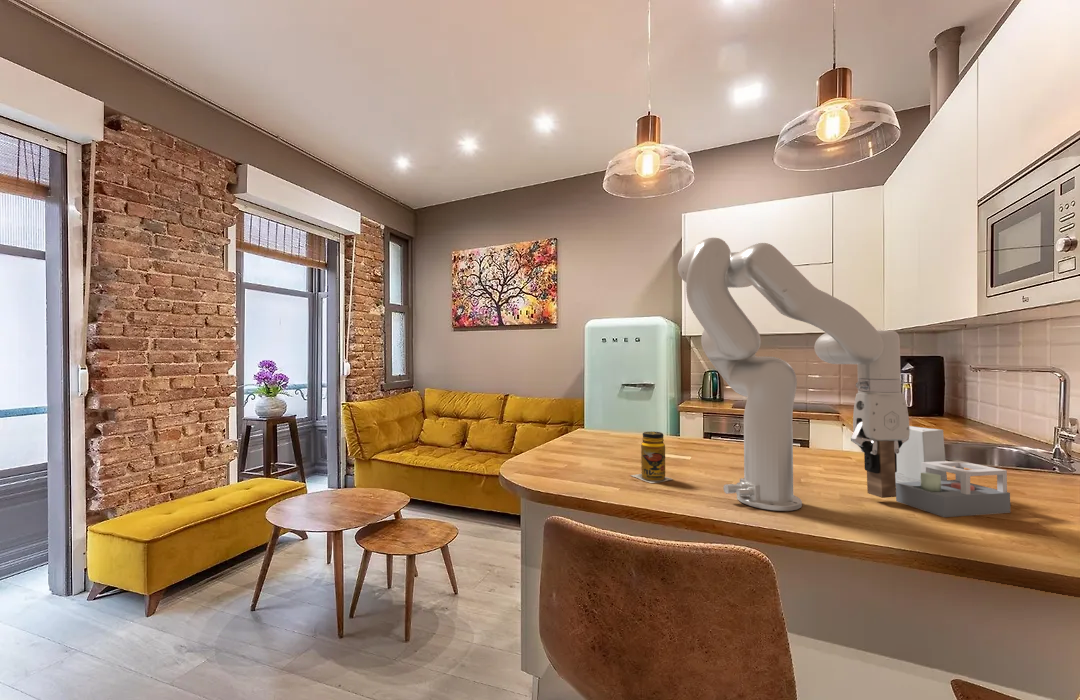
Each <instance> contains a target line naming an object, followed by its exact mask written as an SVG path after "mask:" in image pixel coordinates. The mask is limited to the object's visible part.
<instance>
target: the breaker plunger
mask: <svg viewBox="0 0 1080 700" xmlns="http://www.w3.org/2000/svg"><path fill="white" fill-rule="evenodd" d="M951 487H953V488H956V489H960V490H961V483H951ZM970 491H974V486H973V485H970Z"/></svg>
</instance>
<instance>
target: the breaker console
mask: <svg viewBox="0 0 1080 700" xmlns="http://www.w3.org/2000/svg"><path fill="white" fill-rule="evenodd" d="M930 468H932V469H937V470H941V471H945V472H946V473H951V474H954V475H955V479H947V480H941V492H930V491H926V490H923V489H921V482H903V483H896V497H895V502H897V503H899V504H900V503H901V504H904V505H906V506H909V507H912V508H916V509H918V510H922V511H925V512H927V513H930V514H934V515H937V516H940V517H943V518H949V517H950V518H951V517H952V518H953V517H967V516H981V515H994V514H995V515H997V514H1008V513H1009V514H1010V513H1011V492H1009V491H1008V483H1007V482H1008V477H1007V476H1008V475H1007V472H1008V471H1007V469H1002V468H996V467H992V466H987V465H983V464H978V463H972V462H968V461H964V460H945V461H937V462H921V473H922V472H926V473H930ZM976 476H977V477H984V476H996V479H997V481H996V484H997V485H996V487H997V489H996V488H992V487H988V486H985V485H980V484H975V483H972V482H971V477H976ZM951 483H961V490H960V489H956V488H953V487H951ZM970 485H973V486H974V491H970Z"/></svg>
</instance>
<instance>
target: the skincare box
mask: <svg viewBox="0 0 1080 700" xmlns="http://www.w3.org/2000/svg"><path fill="white" fill-rule="evenodd" d="M909 428H910V435H909V439H908V440H907V441H906V442H905V443H903V444H902V446H901V447H900V448H899V453H898V454H896V455H897V472H895V478H896V483H903V482H921V462H937V461H946V449H945V448H946V447H945V438H944V437H945V436H944V435H945V434H944V429H940V428H938V429H937V428H930V427H929V428H927V427H919V426H912V425H909ZM930 473H934V474H939V475H941V480H948V475H947V473H948V472H945V471H941V470H937V469H932V468H930Z"/></svg>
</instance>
